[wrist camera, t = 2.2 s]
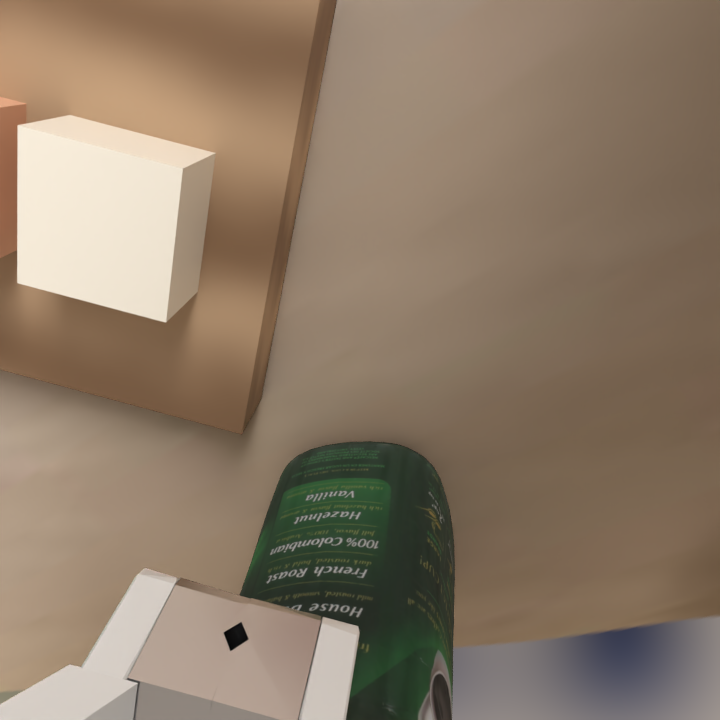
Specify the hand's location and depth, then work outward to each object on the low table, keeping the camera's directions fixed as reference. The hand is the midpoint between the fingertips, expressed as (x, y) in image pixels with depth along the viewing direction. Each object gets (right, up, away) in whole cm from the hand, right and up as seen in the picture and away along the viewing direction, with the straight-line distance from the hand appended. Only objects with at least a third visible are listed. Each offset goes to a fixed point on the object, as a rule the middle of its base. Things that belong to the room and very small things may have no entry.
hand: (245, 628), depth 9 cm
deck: (-9, +11, +17) cm, 22 cm away
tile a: (-6, +9, +14) cm, 18 cm away
